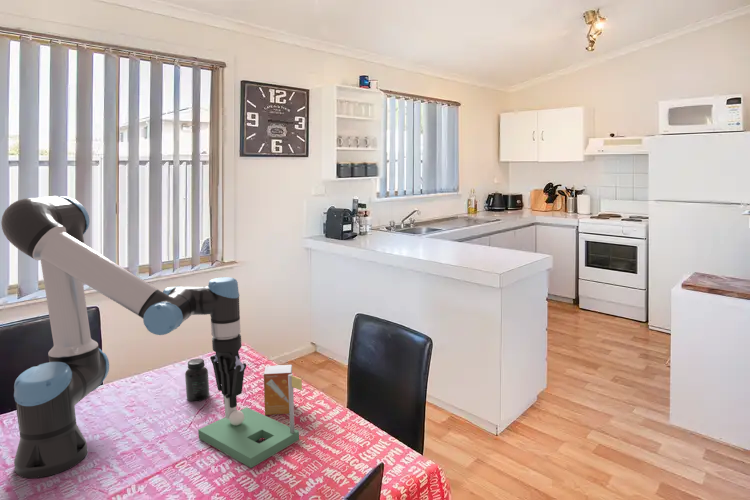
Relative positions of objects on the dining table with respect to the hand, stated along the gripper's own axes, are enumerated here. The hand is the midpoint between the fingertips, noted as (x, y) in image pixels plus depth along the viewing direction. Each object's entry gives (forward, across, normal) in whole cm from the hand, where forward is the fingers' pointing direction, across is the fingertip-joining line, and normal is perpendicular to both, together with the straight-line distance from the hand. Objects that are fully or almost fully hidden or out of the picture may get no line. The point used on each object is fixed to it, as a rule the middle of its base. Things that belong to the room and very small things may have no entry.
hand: (231, 416), depth 136 cm
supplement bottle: (+4, +25, -6) cm, 26 cm away
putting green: (+4, -9, 0) cm, 10 cm away
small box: (+4, -2, -16) cm, 16 cm away
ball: (-1, -3, 0) cm, 3 cm away
